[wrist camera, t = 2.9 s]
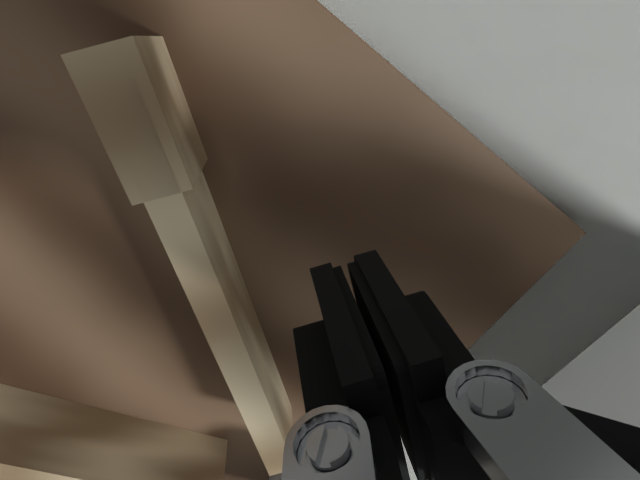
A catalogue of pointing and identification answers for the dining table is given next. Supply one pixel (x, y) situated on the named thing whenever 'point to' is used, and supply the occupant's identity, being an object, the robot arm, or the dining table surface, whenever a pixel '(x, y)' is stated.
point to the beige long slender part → (98, 443)
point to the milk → (605, 375)
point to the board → (238, 204)
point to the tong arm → (183, 216)
